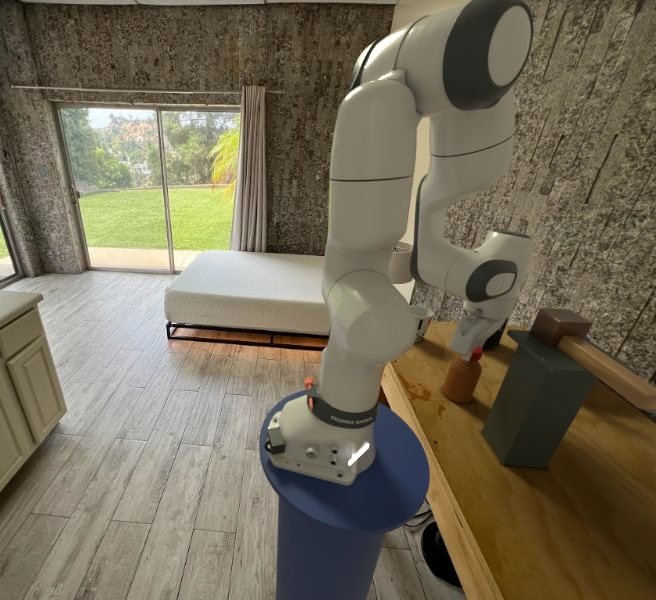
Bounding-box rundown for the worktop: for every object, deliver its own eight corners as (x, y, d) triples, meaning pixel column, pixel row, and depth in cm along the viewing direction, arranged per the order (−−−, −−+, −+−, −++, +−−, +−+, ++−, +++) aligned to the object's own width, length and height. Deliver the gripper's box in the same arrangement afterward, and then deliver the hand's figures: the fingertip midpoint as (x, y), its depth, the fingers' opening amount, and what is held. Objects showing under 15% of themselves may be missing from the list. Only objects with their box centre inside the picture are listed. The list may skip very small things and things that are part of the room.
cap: (483, 357, 75) (486, 349, 75) (476, 363, 73) (478, 355, 72) (465, 349, 78) (467, 341, 77) (457, 355, 76) (460, 347, 75)
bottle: (448, 402, 79) (464, 357, 73) (438, 385, 84) (452, 342, 78) (476, 404, 78) (494, 359, 72) (463, 386, 84) (479, 343, 78)
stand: (500, 477, 61) (554, 369, 49) (469, 428, 71) (507, 329, 60) (568, 483, 60) (639, 373, 48) (526, 432, 70) (576, 332, 59)
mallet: (628, 408, 42) (647, 378, 40) (529, 331, 59) (539, 308, 57) (670, 411, 41) (692, 381, 39) (558, 332, 59) (569, 309, 57)
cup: (412, 346, 101) (419, 319, 96) (394, 334, 108) (399, 308, 103) (431, 341, 103) (439, 314, 99) (412, 329, 110) (418, 303, 106)
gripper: (484, 324, 62) (465, 379, 68) (521, 295, 73) (502, 345, 79) (451, 312, 66) (436, 365, 73) (490, 287, 77) (474, 335, 83)
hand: (470, 355), depth 76 cm, fingers closed on cap, 4 cm apart
